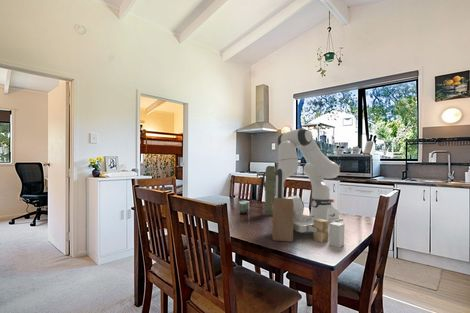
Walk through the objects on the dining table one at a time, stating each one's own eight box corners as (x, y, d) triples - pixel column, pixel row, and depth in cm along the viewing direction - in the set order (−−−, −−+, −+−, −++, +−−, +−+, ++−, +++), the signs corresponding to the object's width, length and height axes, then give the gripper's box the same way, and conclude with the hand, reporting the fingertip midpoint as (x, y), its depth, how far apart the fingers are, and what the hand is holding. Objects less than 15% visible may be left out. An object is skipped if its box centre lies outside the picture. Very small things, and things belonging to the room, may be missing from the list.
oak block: (320, 238, 130) (321, 218, 130) (328, 241, 126) (328, 220, 126) (313, 239, 128) (313, 219, 128) (320, 242, 124) (321, 221, 124)
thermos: (263, 212, 190) (264, 165, 190) (279, 213, 186) (279, 166, 186) (260, 214, 182) (261, 166, 182) (277, 216, 178) (277, 166, 178)
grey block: (334, 242, 124) (334, 221, 124) (344, 244, 120) (344, 223, 120) (329, 244, 121) (329, 223, 121) (339, 247, 117) (339, 225, 117)
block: (293, 242, 123) (293, 201, 123) (272, 241, 125) (272, 200, 125) (292, 236, 133) (293, 198, 133) (273, 235, 135) (273, 197, 135)
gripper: (288, 219, 134) (306, 225, 122) (317, 215, 143) (336, 221, 131) (288, 231, 134) (306, 238, 121) (316, 226, 143) (336, 233, 131)
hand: (322, 229), depth 126 cm, fingers closed on oak block, 5 cm apart
